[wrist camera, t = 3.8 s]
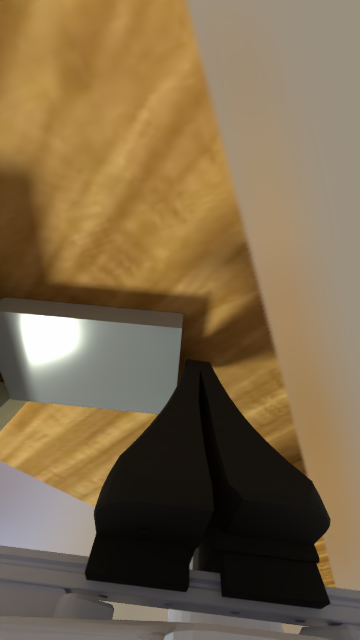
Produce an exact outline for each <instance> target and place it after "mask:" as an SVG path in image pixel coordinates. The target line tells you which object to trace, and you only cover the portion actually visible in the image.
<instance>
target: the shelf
mask: <svg viewBox="0 0 360 640" xmlns="http://www.w3.org/2000/svg"><path fill="white" fill-rule="evenodd" d="M26 402H27V401H21V400H11V398H10V395H9V392H8V390H7V387H6V385H5V382H0V431H1V430H2V429H3V428H4V426H5V425H6V424H7V423H8V422H9V421H10V420H11V419H12V418H13V417H14V416H15V414H16V413H17V412H18V411H19V410H20V409H21V408H22V407H23V406H24V405H25V403H26Z"/></svg>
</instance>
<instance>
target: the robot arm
mask: <svg viewBox="0 0 360 640" xmlns="http://www.w3.org/2000/svg"><path fill="white" fill-rule="evenodd" d="M94 520H95V527H96V537H95V540H94V543H93V546H92V550H91V553H90V556H89V557H87V556H79V555H71V554H63V553H55V552H48V551H40V550H31V549H23V548H16V547H8V546H0V640H360V591H357V590H349V589H340V588H334V587H326V586H324V584H323V581H322V578H321V575H320V573H319V570H318V567H317V564H316V563H319V556H318V553H317V551H316V548H315V546H314V544H315V543H316V542H317V541H318V540H319V539H320V538H321V537H322V536H323V535H324V534H325V532H326V531H327V530H328V528H329V526H330V518H329V515H328V513H327V511H326V509H325V506H324V504H323V502H322V500H321V498H320V495H319V494H318V492H317V490H316V488H315V486H314V484H313V482H312V481H311V480H310V479H309V478H307V477H306V476H305V475H304V474H303V473H301V472H300V471H299V470H298V469H297V468H295V467H294V466H293V465H292V464H291V463H289V462H288V461H287V460H286V459H285V458H284V457H282V456H281V455H280V454H279V453H278V452H277V451H276V450H275V449H274V448H273V447H272V446H271V445H270V444H269V443H268V442H267V441H266V440H265V439H264V438H263V437H262V436H261V435H260V434H259V433H258V432H257V431H256V430H255V429H254V428H253V427H252V426H251V424H250V423H249V422H248V421H247V420H246V419H245V417H244V416H243V415H242V414H241V412H240V411H239V410H238V408H237V407H236V406H235V404H234V403H233V401H232V400H231V399H230V397H229V396H228V394H227V392H226V391H225V389H224V388H223V386H222V384H221V383H220V381H219V379H218V377H217V376H216V374H215V372H214V370H213V368H212V366H211V364H210V363H209V362H202V361H195V360H186V362H185V368H184V371H183V374H182V376H181V379H180V381H179V383H178V385H177V387H176V389H175V390H174V392H173V394H172V396H171V397H170V399H169V401H168V402H167V404H166V405H165V406H164V408H163V409H162V411H161V412H160V413H159V415H158V416H157V417H156V419H155V420H154V421H153V422H152V423H151V425H150V426H149V427H148V428H147V429H146V430H145V431H144V432H143V433H142V435H141V436H140V437H139V438H138V439H137V440H136V441H135V442H134V443H133V444H132V445H131V446H130V447H129V448H127V449H126V450H125V451H124V452H123V453H122V454H121V455H120V456H119V458H118V460H117V461H116V463H115V464H114V466H113V468H112V469H111V471H110V473H109V475H108V477H107V479H106V481H105V483H104V485H103V487H102V489H101V492H100V495H99V498H98V501H97V504H96V507H95V510H94ZM99 600H101V601H99ZM102 601H110V602H117V603H125V604H133V605H141V606H149V607H157V608H165V609H168V622H163V621H133V620H113V619H112V617H113V612H114V608H113V606H112V605H111V604H108V603H105V602H102ZM282 623H286V624H294V625H302V626H309V627H302V629H301V631H300V633H299V634H291V633H284V632H283V627H282Z"/></svg>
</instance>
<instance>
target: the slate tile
mask: <svg viewBox="0 0 360 640" xmlns="http://www.w3.org/2000/svg"><path fill="white" fill-rule="evenodd" d="M182 325H183V314H182V313H171V312H160V311H150V310H139V309H128V308H117V307H106V306H95V305H84V304H73V303H62V302H52V301H41V300H30V299H19V298H8V297H5V298H3V299H0V372H1V375H2V377H3V380H4V382H5V385H6V387H7V390H8V392H9V395H10V398H11V400H21V401H31V402H41V403H51V404H61V405H71V406H81V407H91V408H101V409H111V410H121V411H131V412H141V413H151V414H159V413H160V412H161V411H162V409H163V408H164V406H165V405H166V404H167V402H168V401H169V399H170V397H171V396H172V394H173V392H174V390H175V389H176V387H177V379H178V368H179V357H180V346H181V336H182Z"/></svg>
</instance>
